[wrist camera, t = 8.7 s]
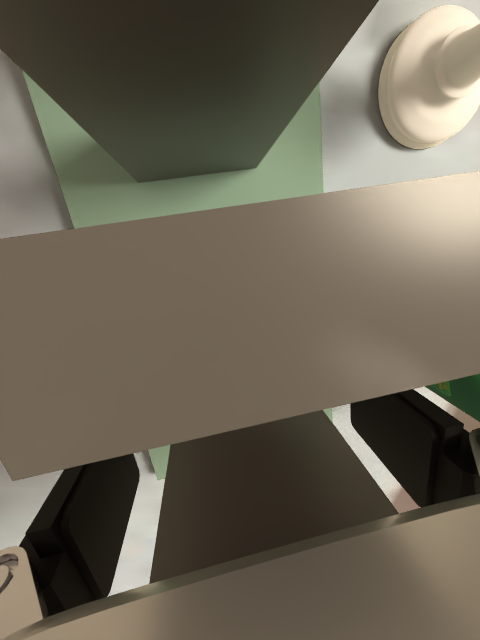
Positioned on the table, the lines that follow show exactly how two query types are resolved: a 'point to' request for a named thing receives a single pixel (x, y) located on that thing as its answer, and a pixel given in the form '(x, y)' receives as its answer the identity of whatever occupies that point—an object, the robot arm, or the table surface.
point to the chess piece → (431, 77)
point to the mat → (174, 180)
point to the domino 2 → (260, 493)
